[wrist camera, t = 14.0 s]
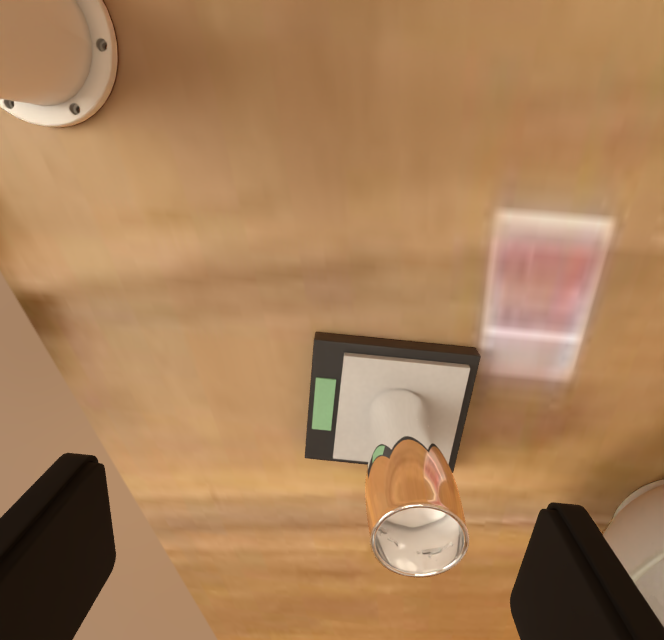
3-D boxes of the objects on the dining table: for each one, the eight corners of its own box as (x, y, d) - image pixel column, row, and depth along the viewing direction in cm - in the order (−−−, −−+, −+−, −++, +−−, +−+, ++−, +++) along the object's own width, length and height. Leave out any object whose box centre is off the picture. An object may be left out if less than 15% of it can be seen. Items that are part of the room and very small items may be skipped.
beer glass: (415, 453, 44) (444, 591, 30) (352, 431, 43) (351, 562, 29) (444, 398, 41) (491, 521, 27) (378, 375, 41) (391, 488, 27)
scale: (306, 446, 48) (303, 463, 45) (315, 331, 43) (313, 342, 40) (449, 461, 47) (454, 478, 45) (475, 347, 42) (483, 359, 40)
